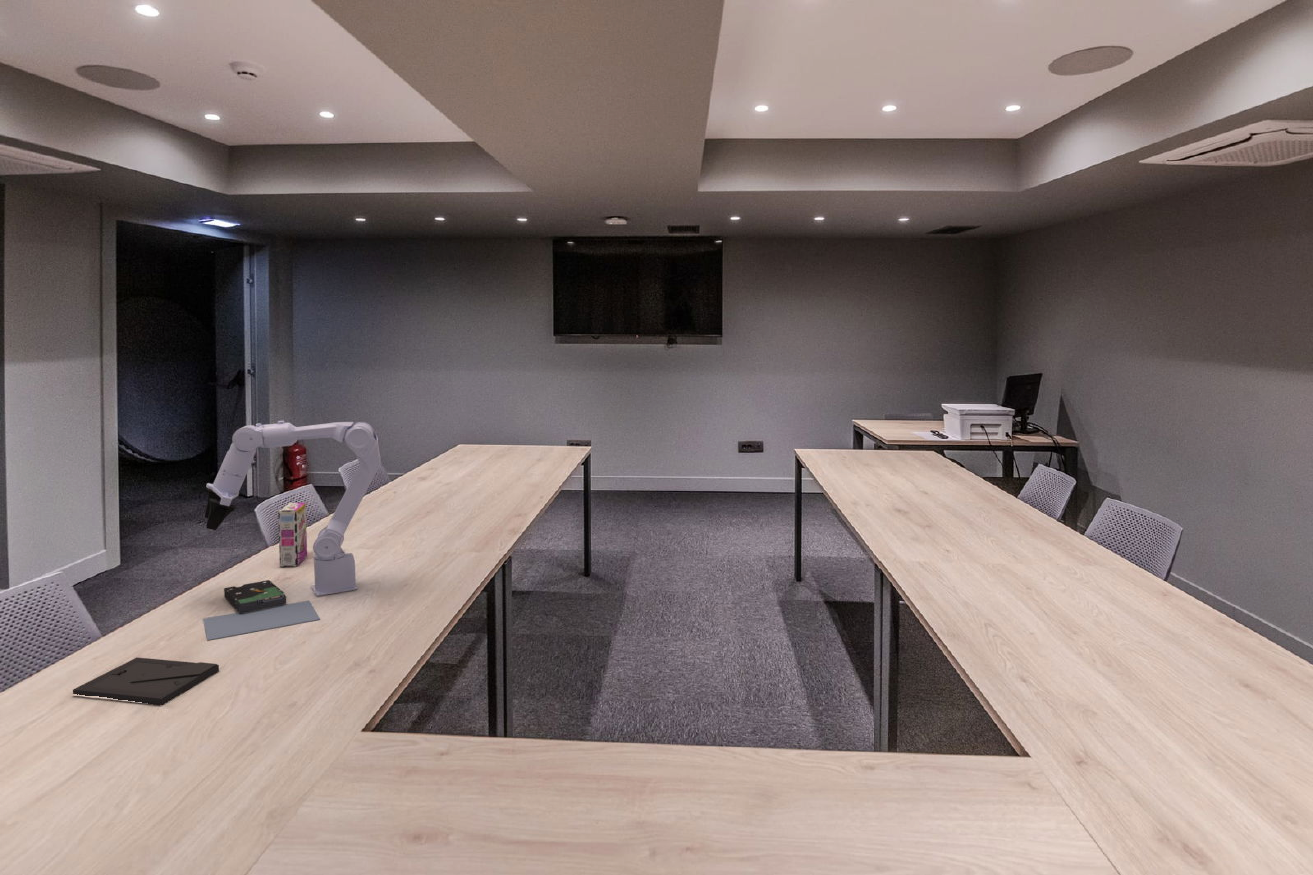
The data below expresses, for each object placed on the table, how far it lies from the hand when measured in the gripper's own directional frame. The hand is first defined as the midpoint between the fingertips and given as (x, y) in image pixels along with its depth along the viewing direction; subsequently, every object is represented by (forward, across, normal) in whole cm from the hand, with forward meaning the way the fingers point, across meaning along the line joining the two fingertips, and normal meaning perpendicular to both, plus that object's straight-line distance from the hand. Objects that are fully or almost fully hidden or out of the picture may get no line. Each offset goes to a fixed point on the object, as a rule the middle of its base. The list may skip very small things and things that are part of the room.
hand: (210, 523), depth 171 cm
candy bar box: (+12, -20, +28) cm, 36 cm away
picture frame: (+18, +46, -6) cm, 50 cm away
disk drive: (+14, +10, +14) cm, 22 cm away
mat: (+12, +23, +14) cm, 29 cm away
